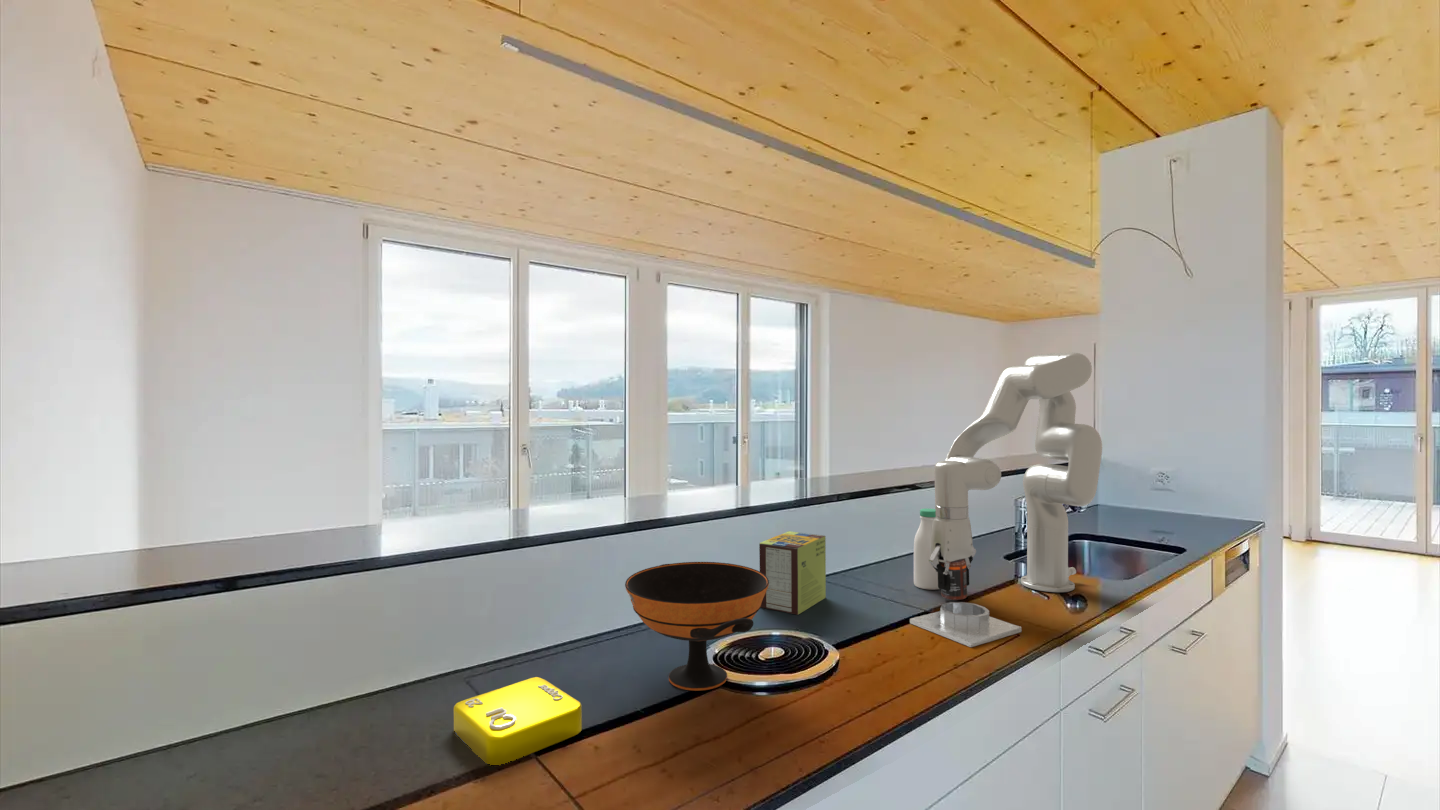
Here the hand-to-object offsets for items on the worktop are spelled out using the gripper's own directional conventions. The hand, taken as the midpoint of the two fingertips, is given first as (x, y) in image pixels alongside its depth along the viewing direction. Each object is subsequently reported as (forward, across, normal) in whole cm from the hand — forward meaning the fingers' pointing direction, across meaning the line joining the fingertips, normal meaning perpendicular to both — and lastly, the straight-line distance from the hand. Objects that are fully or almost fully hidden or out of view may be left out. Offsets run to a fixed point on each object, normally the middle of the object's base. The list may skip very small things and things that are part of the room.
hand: (953, 586), depth 160 cm
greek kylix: (+2, +73, +5) cm, 73 cm away
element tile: (+1, +105, +6) cm, 105 cm away
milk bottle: (+4, -5, -12) cm, 14 cm away
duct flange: (+3, +12, +13) cm, 18 cm away
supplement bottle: (+3, 0, 0) cm, 3 cm away
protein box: (+3, +33, -20) cm, 39 cm away
